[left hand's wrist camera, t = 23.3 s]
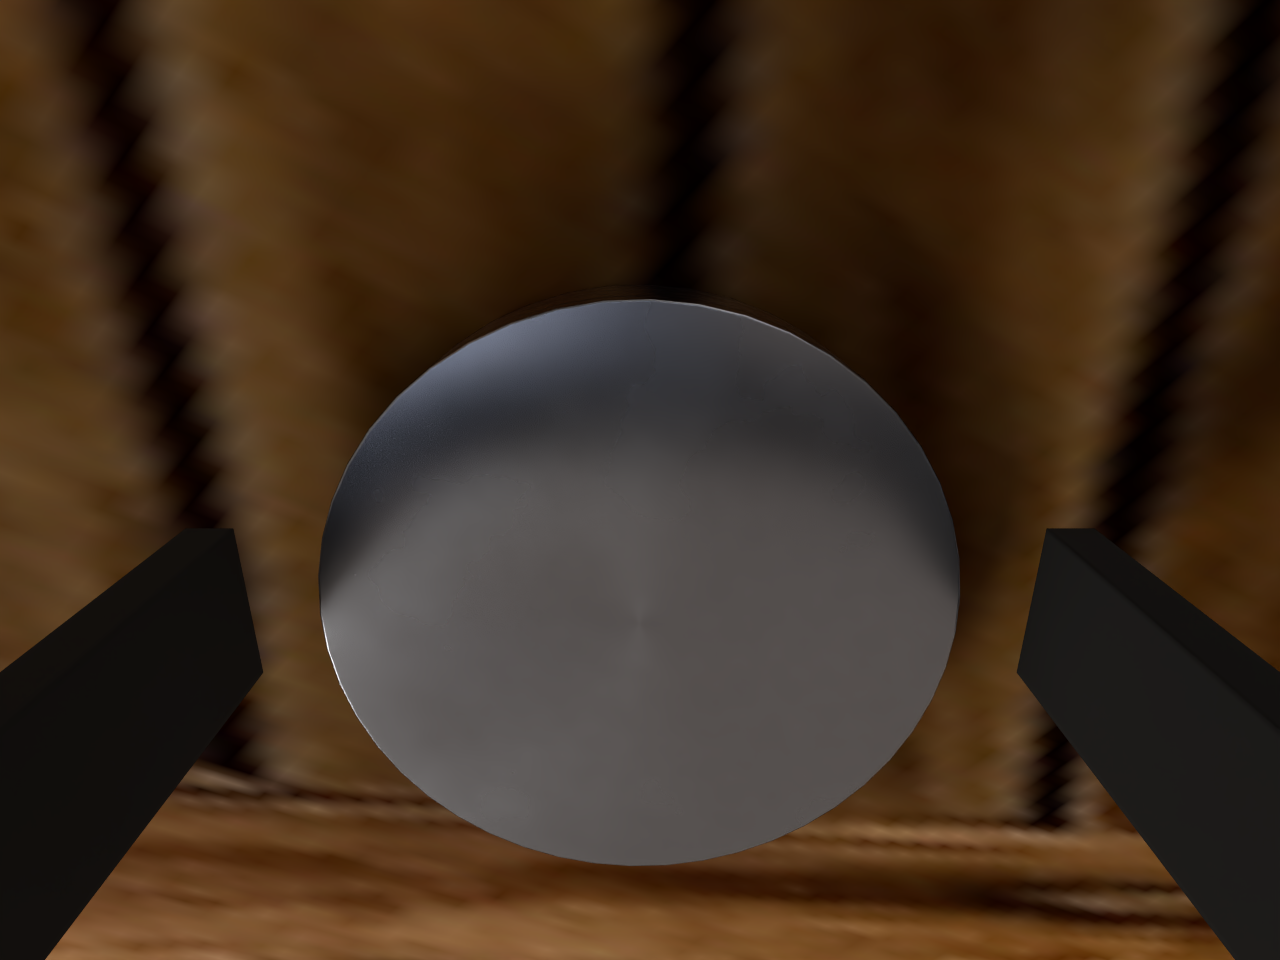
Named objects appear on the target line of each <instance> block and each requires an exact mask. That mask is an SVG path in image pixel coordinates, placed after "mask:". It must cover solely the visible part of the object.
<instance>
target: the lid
mask: <svg viewBox="0 0 1280 960" xmlns="http://www.w3.org/2000/svg"><path fill="white" fill-rule="evenodd" d="M318 580H319V600H320V615H321V620H322V625H323V630H324V635H325V640H326V645H327V650H328V653H329V656H330V659H331V661H332V664H333V667H334V670H335V673H336V675H337V678H338V681H339V684H340V686H341V688H342V690H343V692H344V694H345V696H346V698H347V699H348V701H349V703H350V705H351V707H352V709H353V711H354V713H355V715H356V717H357V718H358V720H359V721H360V722H361V724H362V725H363V727H364V728H365V730H366V731H367V732H368V734H369V735H370V737H371V738H372V740H373V741H374V742H375V744H376V745H377V747H378V748H379V749H380V750H381V751H382V752H383V753H384V754H385V755H386V756H387V758H388V759H389V760H390V761H391V762H392V763H393V764H394V765H395V766H396V768H397V769H398V770H399V771H400V772H401V773H402V774H403V775H404V776H406V777H407V778H408V779H409V780H410V781H411V782H413V783H414V784H415V785H416V786H417V787H418V788H419V789H421V790H422V791H423V792H424V793H425V794H426V795H427V796H429V797H430V798H432V799H433V800H435V801H436V802H438V803H439V804H440V805H442V806H443V807H445V808H446V809H448V810H449V811H451V812H452V813H454V814H455V815H457V816H458V817H460V818H462V819H464V820H466V821H467V822H469V823H471V824H473V825H475V826H477V827H479V828H481V829H482V830H484V831H486V832H488V833H490V834H493V835H495V836H498V837H500V838H502V839H505V840H507V841H510V842H512V843H515V844H517V845H520V846H522V847H525V848H529V849H532V850H536V851H539V852H543V853H546V854H550V855H553V856H557V857H562V858H568V859H573V860H579V861H584V862H590V863H598V864H611V865H624V866H648V865H671V864H679V863H687V862H695V861H703V860H707V859H711V858H716V857H720V856H724V855H729V854H733V853H737V852H741V851H744V850H746V849H749V848H752V847H755V846H758V845H761V844H764V843H767V842H770V841H773V840H775V839H777V838H779V837H781V836H783V835H786V834H788V833H790V832H792V831H794V830H796V829H798V828H801V827H803V826H805V825H807V824H808V823H810V822H812V821H813V820H815V819H817V818H818V817H820V816H822V815H823V814H825V813H826V812H828V811H830V810H831V809H833V808H835V807H836V806H838V805H839V804H840V803H842V802H843V801H844V800H845V799H847V798H848V797H849V796H851V795H852V794H853V793H854V792H856V791H857V790H858V789H860V788H861V787H862V786H864V785H865V784H866V783H867V782H868V781H869V780H870V779H871V778H872V777H873V776H874V775H875V774H876V773H877V772H878V771H879V770H880V769H881V768H882V767H883V766H884V765H885V764H886V763H887V762H888V761H889V760H890V759H891V758H892V757H893V756H894V754H895V753H896V752H897V751H898V749H899V748H900V747H901V745H902V744H903V743H904V742H905V740H906V739H907V738H908V737H909V735H910V734H911V733H912V732H913V730H914V728H915V727H916V725H917V724H918V722H919V720H920V719H921V717H922V715H923V714H924V712H925V710H926V709H927V707H928V705H929V704H930V702H931V700H932V698H933V696H934V693H935V691H936V689H937V686H938V684H939V682H940V680H941V677H942V675H943V673H944V670H945V668H946V665H947V661H948V658H949V654H950V650H951V647H952V643H953V639H954V636H955V632H956V624H957V616H958V608H959V600H960V568H959V553H958V547H957V542H956V536H955V530H954V525H953V519H952V516H951V513H950V510H949V507H948V504H947V501H946V499H945V496H944V493H943V490H942V487H941V484H940V481H939V479H938V477H937V475H936V474H935V472H934V470H933V468H932V466H931V464H930V462H929V460H928V458H927V456H926V454H925V452H924V450H923V449H922V447H921V445H920V444H919V442H918V441H917V440H916V438H915V437H914V435H913V434H912V433H911V431H910V430H909V429H908V427H907V426H906V424H905V423H904V422H903V420H902V419H901V418H900V416H899V415H898V413H897V412H896V411H895V410H894V409H893V408H892V407H891V406H890V405H889V404H888V403H887V402H886V401H885V400H884V399H883V398H882V397H881V396H880V395H879V394H878V393H877V392H876V391H875V390H874V389H873V388H872V387H871V386H870V385H869V384H868V383H867V382H866V381H865V380H864V379H863V378H862V377H861V376H859V375H858V374H857V373H856V372H855V371H854V370H852V369H851V368H850V367H849V366H848V365H846V364H845V363H844V362H843V361H842V360H841V359H839V358H838V357H837V356H836V355H834V354H833V353H832V352H830V351H829V350H828V349H826V348H825V347H824V346H822V345H821V344H820V343H818V342H817V341H816V340H815V339H813V338H812V337H811V336H809V335H808V334H807V333H805V332H803V331H801V330H800V329H798V328H796V327H794V326H792V325H791V324H789V323H787V322H785V321H784V320H782V319H780V318H778V317H776V316H775V315H773V314H771V313H768V312H766V311H763V310H761V309H758V308H756V307H753V306H751V305H748V304H745V303H743V302H740V301H738V300H735V299H733V298H728V297H724V296H720V295H716V294H712V293H708V292H703V291H699V290H695V289H690V288H680V287H670V286H660V285H620V286H604V287H598V288H592V289H587V290H581V291H575V292H569V293H565V294H561V295H558V296H555V297H552V298H549V299H545V300H542V301H539V302H536V303H533V304H529V305H526V306H524V307H522V308H520V309H518V310H516V311H514V312H511V313H509V314H507V315H505V316H503V317H501V318H499V319H497V320H494V321H492V322H490V323H489V324H487V325H486V326H484V327H483V328H481V329H479V330H478V331H476V332H475V333H473V334H472V335H470V336H469V337H467V338H466V339H464V340H463V341H461V342H460V343H458V344H456V345H455V346H454V347H453V348H452V349H451V350H449V351H448V352H447V353H446V354H445V355H443V356H442V357H441V358H440V359H439V360H437V361H436V362H435V363H434V364H433V365H431V366H430V367H429V368H428V369H427V370H426V371H425V372H423V373H422V374H421V375H420V376H419V377H418V378H417V379H415V380H414V381H413V382H412V383H411V384H410V385H409V386H408V387H406V388H405V389H404V390H403V391H402V392H401V393H400V394H398V395H397V396H396V397H395V399H394V400H393V401H392V402H391V403H390V405H389V406H388V407H387V408H386V409H385V410H384V412H383V413H382V414H381V415H380V416H379V417H378V419H377V420H376V421H375V422H374V423H373V425H372V426H371V427H370V428H369V430H368V431H367V433H366V434H365V436H364V438H363V439H362V441H361V442H360V444H359V446H358V447H357V449H356V451H355V452H354V454H353V455H352V457H351V459H350V460H349V462H348V463H347V466H346V468H345V470H344V473H343V475H342V477H341V480H340V482H339V484H338V487H337V489H336V491H335V494H334V496H333V498H332V501H331V505H330V509H329V513H328V517H327V521H326V525H325V528H324V532H323V536H322V544H321V554H320V564H319V573H318Z"/></svg>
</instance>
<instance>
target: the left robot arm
mask: <svg viewBox="0 0 1280 960" xmlns="http://www.w3.org/2000/svg"><path fill="white" fill-rule="evenodd" d="M262 673H263V669H262V664H261V659H260V655H259V650H258V645H257V640H256V635H255V631H254V626H253V621H252V616H251V611H250V607H249V602H248V597H247V592H246V587H245V583H244V578H243V573H242V568H241V563H240V559H239V554H238V549H237V544H236V539H235V535H234V530H233V529H185V530H183V531H182V532H181V533H179V534H178V535H177V536H175V537H174V538H173V539H172V540H170V541H169V542H168V543H166V544H165V545H164V546H163V547H161V548H160V549H159V550H157V551H156V552H155V553H154V554H152V555H151V556H150V557H148V558H147V559H146V560H144V561H143V562H142V563H141V564H139V565H138V566H137V567H135V568H134V569H133V570H132V571H130V572H129V573H128V574H126V575H125V576H124V577H123V578H121V579H120V580H119V581H117V582H116V583H115V584H114V585H112V586H111V587H110V588H108V589H107V590H106V591H104V592H103V593H102V594H101V595H99V596H98V597H97V598H95V599H94V600H93V601H92V602H90V603H89V604H88V605H86V606H85V607H84V608H83V609H81V610H80V611H79V612H77V613H76V614H75V615H73V616H72V617H71V618H70V619H68V620H67V621H66V622H64V623H63V624H62V625H61V626H59V627H58V628H57V629H55V630H54V631H53V632H52V633H50V634H49V635H48V636H46V637H45V638H44V639H43V640H41V641H40V642H39V643H37V644H36V645H35V646H33V647H32V648H31V649H30V650H28V651H27V652H26V653H24V654H23V655H22V656H21V657H19V658H18V659H17V660H15V661H14V662H13V663H12V664H10V665H9V666H8V667H6V668H5V669H4V670H2V671H1V672H0V960H45V959H46V958H47V956H48V955H49V954H50V952H51V951H52V950H53V948H54V947H55V946H56V945H57V943H58V942H59V941H60V939H61V938H62V937H63V935H64V934H65V933H66V931H67V930H68V929H69V927H70V926H71V925H72V923H73V922H74V921H75V920H76V918H77V917H78V916H79V914H80V913H81V912H82V910H83V909H84V908H85V906H86V905H87V904H88V902H89V901H90V900H91V898H92V897H93V896H94V895H95V893H96V892H97V891H98V889H99V888H100V887H101V885H102V884H103V883H104V881H105V880H106V879H107V877H108V876H109V875H110V873H111V872H112V871H113V869H114V868H115V867H116V866H117V864H118V863H119V862H120V860H121V859H122V858H123V856H124V855H125V854H126V852H127V851H128V850H129V848H130V847H131V846H132V844H133V843H134V842H135V841H136V839H137V838H138V837H139V835H140V834H141V833H142V831H143V830H144V829H145V827H146V826H147V825H148V823H149V822H150V821H151V819H152V818H153V817H154V816H155V814H156V813H157V812H158V810H159V809H160V808H161V806H162V805H163V804H164V802H165V801H166V800H167V798H168V797H169V796H170V794H171V793H172V792H173V791H174V789H175V788H176V787H177V785H178V784H179V783H180V781H181V780H182V779H183V777H184V776H185V775H186V773H187V772H188V771H189V769H190V768H191V767H192V766H193V764H194V763H195V762H196V760H197V759H198V758H199V756H200V755H201V754H202V752H203V751H204V750H205V748H206V747H207V746H208V744H209V743H210V742H211V741H212V739H213V738H214V737H215V735H216V734H217V733H218V731H219V730H220V729H221V727H222V726H223V725H224V723H225V722H226V721H227V719H228V718H229V717H230V716H231V714H232V713H233V712H234V710H235V709H236V708H237V706H238V705H239V704H240V702H241V701H242V700H243V698H244V697H245V696H246V694H247V693H248V692H249V691H250V689H251V688H252V687H253V685H254V684H255V683H256V681H257V680H258V679H259V677H260V676H261V675H262ZM1017 673H1018V675H1019V676H1020V677H1021V679H1022V680H1023V681H1024V683H1025V684H1026V685H1027V687H1028V688H1029V689H1030V691H1031V692H1032V693H1033V694H1034V696H1035V697H1036V698H1037V700H1038V701H1039V702H1040V704H1041V705H1042V706H1043V708H1044V709H1045V710H1046V712H1047V713H1048V714H1049V716H1050V717H1051V718H1052V719H1053V721H1054V722H1055V723H1056V725H1057V726H1058V727H1059V729H1060V730H1061V731H1062V733H1063V734H1064V735H1065V737H1066V738H1067V739H1068V741H1069V742H1070V743H1071V744H1072V746H1073V747H1074V748H1075V750H1076V751H1077V752H1078V754H1079V755H1080V756H1081V758H1082V759H1083V760H1084V762H1085V763H1086V764H1087V766H1088V767H1089V768H1090V769H1091V771H1092V772H1093V773H1094V775H1095V776H1096V777H1097V779H1098V780H1099V781H1100V783H1101V784H1102V785H1103V787H1104V788H1105V789H1106V791H1107V792H1108V793H1109V794H1110V796H1111V797H1112V798H1113V800H1114V801H1115V802H1116V804H1117V805H1118V806H1119V808H1120V809H1121V810H1122V812H1123V813H1124V814H1125V816H1126V817H1127V818H1128V819H1129V821H1130V822H1131V823H1132V825H1133V826H1134V827H1135V829H1136V830H1137V831H1138V833H1139V834H1140V835H1141V837H1142V838H1143V839H1144V841H1145V842H1146V843H1147V845H1148V846H1149V847H1150V848H1151V850H1152V851H1153V852H1154V854H1155V855H1156V856H1157V858H1158V859H1159V860H1160V862H1161V863H1162V864H1163V866H1164V867H1165V868H1166V870H1167V871H1168V872H1169V873H1170V875H1171V876H1172V877H1173V879H1174V880H1175V881H1176V883H1177V884H1178V885H1179V887H1180V888H1181V889H1182V891H1183V892H1184V893H1185V895H1186V896H1187V897H1188V898H1189V900H1190V901H1191V902H1192V904H1193V905H1194V906H1195V908H1196V909H1197V910H1198V912H1199V913H1200V914H1201V916H1202V917H1203V918H1204V920H1205V921H1206V922H1207V923H1208V925H1209V926H1210V927H1211V929H1212V930H1213V931H1214V933H1215V934H1216V935H1217V937H1218V938H1219V939H1220V941H1221V942H1222V943H1223V945H1224V946H1225V947H1226V948H1227V950H1228V951H1229V952H1230V954H1231V955H1232V956H1233V958H1234V959H1235V960H1280V672H1279V671H1278V670H1276V669H1275V668H1274V667H1272V666H1271V665H1270V664H1268V663H1267V662H1266V661H1265V660H1263V659H1262V658H1261V657H1259V656H1258V655H1257V654H1256V653H1254V652H1253V651H1252V650H1250V649H1249V648H1248V647H1247V646H1245V645H1244V644H1243V643H1241V642H1240V641H1239V640H1237V639H1236V638H1235V637H1234V636H1232V635H1231V634H1230V633H1228V632H1227V631H1226V630H1225V629H1223V628H1222V627H1221V626H1219V625H1218V624H1217V623H1216V622H1214V621H1213V620H1212V619H1210V618H1209V617H1208V616H1207V615H1205V614H1204V613H1203V612H1201V611H1200V610H1199V609H1197V608H1196V607H1195V606H1194V605H1192V604H1191V603H1190V602H1188V601H1187V600H1186V599H1185V598H1183V597H1182V596H1181V595H1179V594H1178V593H1177V592H1176V591H1174V590H1173V589H1172V588H1170V587H1169V586H1168V585H1166V584H1165V583H1164V582H1163V581H1161V580H1160V579H1159V578H1157V577H1156V576H1155V575H1154V574H1152V573H1151V572H1150V571H1148V570H1147V569H1146V568H1145V567H1143V566H1142V565H1141V564H1139V563H1138V562H1137V561H1135V560H1134V559H1133V558H1132V557H1130V556H1129V555H1128V554H1126V553H1125V552H1124V551H1123V550H1121V549H1120V548H1119V547H1117V546H1116V545H1115V544H1114V543H1112V542H1111V541H1110V540H1108V539H1107V538H1106V537H1105V536H1103V535H1102V534H1101V533H1099V532H1098V531H1097V530H1095V529H1047V530H1046V535H1045V539H1044V544H1043V549H1042V554H1041V559H1040V563H1039V568H1038V573H1037V578H1036V583H1035V587H1034V592H1033V597H1032V602H1031V607H1030V611H1029V616H1028V621H1027V626H1026V631H1025V635H1024V640H1023V645H1022V650H1021V655H1020V659H1019V664H1018V669H1017Z"/></svg>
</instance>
